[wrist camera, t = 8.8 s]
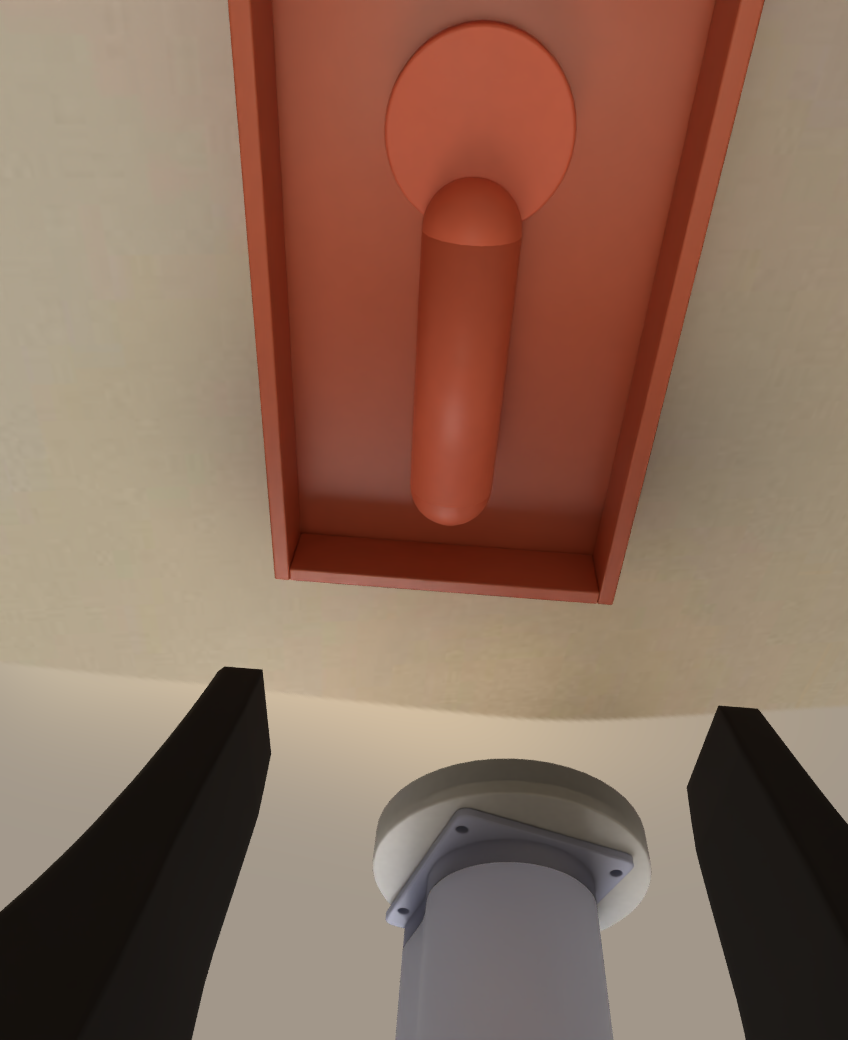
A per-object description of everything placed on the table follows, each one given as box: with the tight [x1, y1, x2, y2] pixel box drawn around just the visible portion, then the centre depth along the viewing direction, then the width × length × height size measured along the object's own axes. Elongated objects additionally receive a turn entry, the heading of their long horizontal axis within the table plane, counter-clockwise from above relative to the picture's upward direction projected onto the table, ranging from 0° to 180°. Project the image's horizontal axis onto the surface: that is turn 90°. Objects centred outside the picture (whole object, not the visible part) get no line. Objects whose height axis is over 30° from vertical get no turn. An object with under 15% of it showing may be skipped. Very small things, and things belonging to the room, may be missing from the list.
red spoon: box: [384, 20, 576, 526], centre depth 16 cm, size 10×4×2 cm, turn 177°
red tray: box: [228, 0, 765, 605], centre depth 17 cm, size 15×9×2 cm, turn 177°
